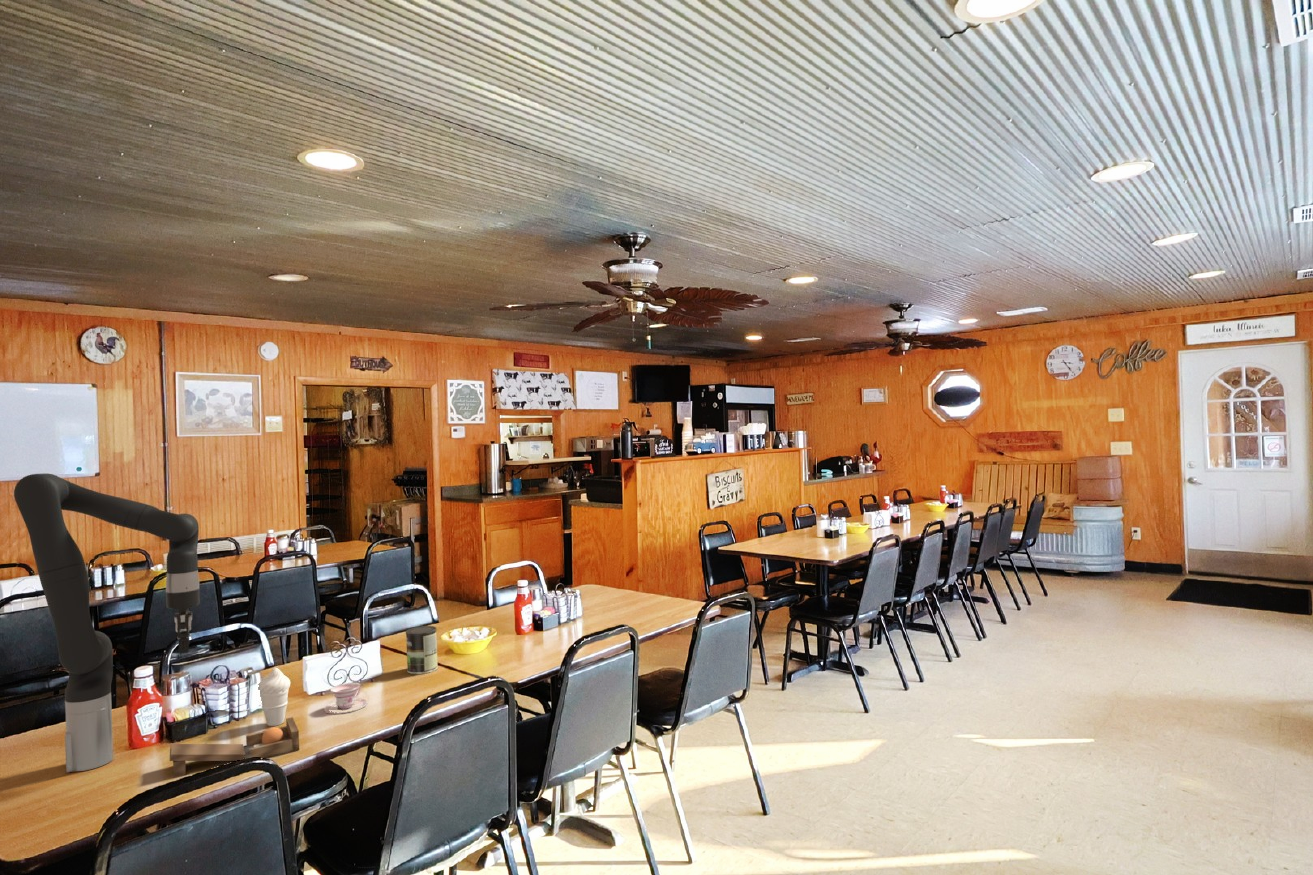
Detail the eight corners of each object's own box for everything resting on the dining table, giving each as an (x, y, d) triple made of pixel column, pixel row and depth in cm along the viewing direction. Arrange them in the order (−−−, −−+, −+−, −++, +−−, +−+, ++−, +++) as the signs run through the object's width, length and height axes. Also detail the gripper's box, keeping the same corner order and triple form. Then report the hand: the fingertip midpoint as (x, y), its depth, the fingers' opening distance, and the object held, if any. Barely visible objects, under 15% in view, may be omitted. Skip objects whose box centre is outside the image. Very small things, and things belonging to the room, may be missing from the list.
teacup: (337, 717, 211) (336, 696, 211) (316, 709, 219) (315, 689, 219) (375, 705, 220) (374, 684, 221) (354, 697, 228) (353, 678, 228)
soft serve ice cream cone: (252, 726, 206) (250, 670, 207) (279, 716, 214) (277, 661, 214) (271, 730, 203) (269, 673, 203) (298, 720, 210) (296, 664, 210)
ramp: (170, 778, 175) (169, 754, 175) (170, 766, 182) (169, 744, 182) (245, 760, 184) (244, 737, 184) (243, 749, 190) (242, 728, 190)
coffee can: (409, 676, 247) (407, 634, 247) (405, 668, 256) (404, 628, 256) (440, 671, 251) (438, 630, 251) (435, 663, 261) (434, 624, 261)
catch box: (246, 762, 182) (245, 742, 182) (243, 747, 192) (242, 728, 192) (299, 749, 188) (298, 730, 189) (293, 735, 199) (292, 717, 199)
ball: (265, 753, 187) (286, 745, 190) (260, 735, 187) (281, 727, 190) (263, 747, 191) (284, 739, 194) (259, 729, 191) (279, 721, 194)
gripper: (199, 590, 191) (200, 652, 190) (199, 583, 203) (200, 641, 202) (164, 594, 187) (166, 657, 186) (167, 586, 199) (168, 646, 198)
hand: (184, 649), depth 194 cm, fingers open, 8 cm apart
